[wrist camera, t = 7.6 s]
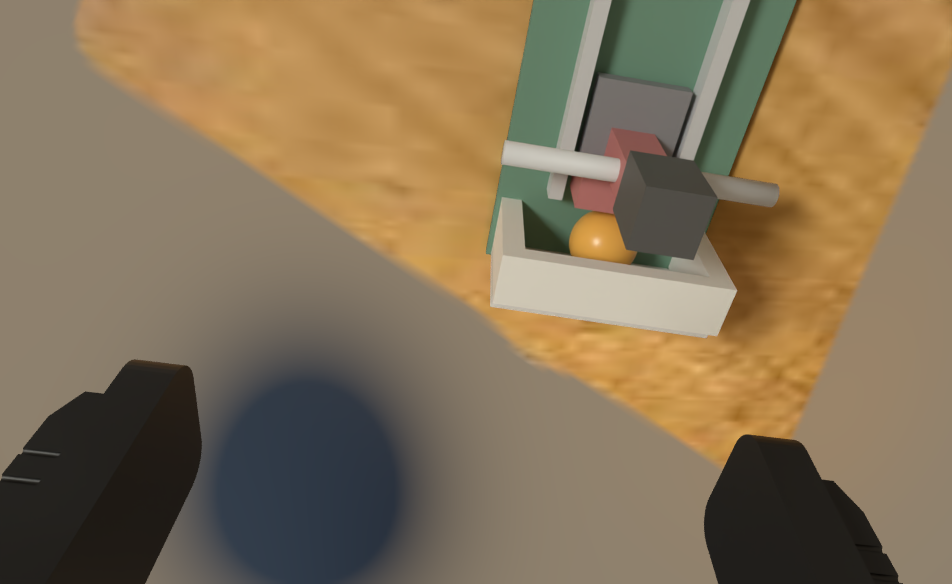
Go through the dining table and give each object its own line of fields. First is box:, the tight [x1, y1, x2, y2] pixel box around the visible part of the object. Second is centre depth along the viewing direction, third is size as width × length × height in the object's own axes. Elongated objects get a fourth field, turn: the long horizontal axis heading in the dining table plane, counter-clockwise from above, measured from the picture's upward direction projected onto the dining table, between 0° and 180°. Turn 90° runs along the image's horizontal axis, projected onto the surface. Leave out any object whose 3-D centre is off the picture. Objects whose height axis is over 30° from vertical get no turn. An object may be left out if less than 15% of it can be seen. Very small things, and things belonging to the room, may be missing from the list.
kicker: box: [501, 72, 779, 260], centre depth 33 cm, size 6×14×11 cm, turn 81°
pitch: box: [486, 0, 796, 269], centre depth 36 cm, size 22×13×2 cm, turn 171°
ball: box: [569, 211, 637, 265], centre depth 39 cm, size 4×4×4 cm
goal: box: [490, 197, 737, 338], centre depth 39 cm, size 4×12×7 cm, turn 81°
